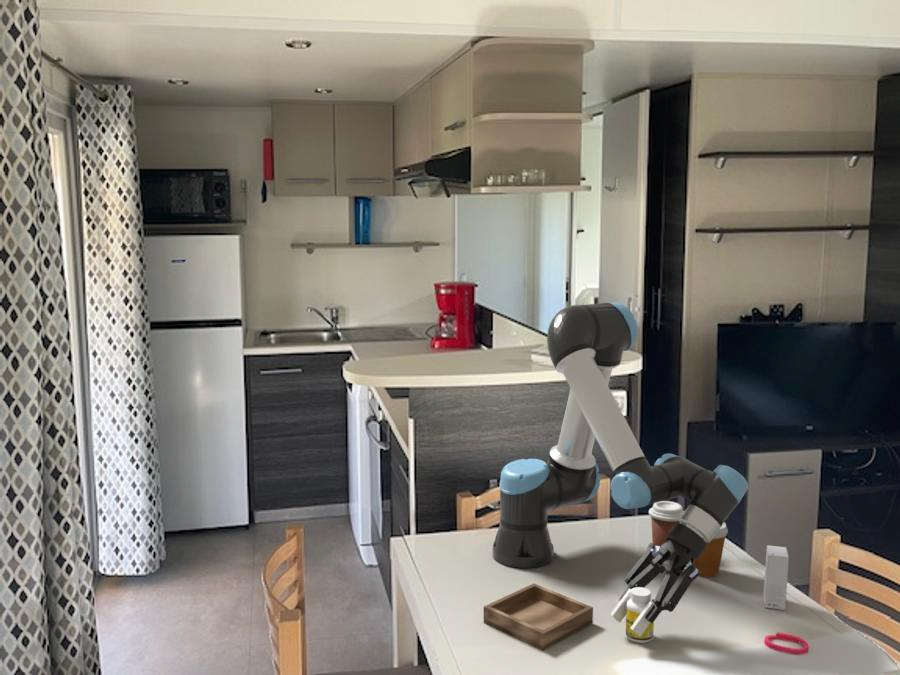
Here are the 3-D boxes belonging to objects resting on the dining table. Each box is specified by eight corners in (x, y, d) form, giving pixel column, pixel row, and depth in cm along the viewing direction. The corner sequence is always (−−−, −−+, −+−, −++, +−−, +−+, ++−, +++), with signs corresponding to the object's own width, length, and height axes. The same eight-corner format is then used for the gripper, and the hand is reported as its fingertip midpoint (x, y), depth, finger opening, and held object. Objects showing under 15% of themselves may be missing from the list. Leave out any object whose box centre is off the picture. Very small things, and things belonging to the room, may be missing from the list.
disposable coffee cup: (727, 581, 198) (730, 532, 196) (685, 578, 200) (687, 528, 198) (723, 565, 207) (725, 517, 205) (682, 561, 209) (684, 514, 207)
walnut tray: (483, 622, 178) (483, 606, 178) (533, 598, 190) (533, 583, 189) (543, 650, 167) (543, 633, 167) (592, 623, 178) (593, 607, 178)
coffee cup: (647, 556, 212) (649, 510, 210) (647, 542, 221) (648, 498, 219) (685, 560, 210) (687, 513, 208) (683, 546, 219) (685, 500, 217)
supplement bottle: (622, 631, 175) (623, 585, 173) (648, 630, 175) (649, 584, 174) (629, 644, 170) (631, 597, 168) (656, 643, 170) (658, 596, 169)
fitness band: (809, 645, 170) (809, 637, 170) (807, 658, 165) (807, 651, 165) (765, 636, 174) (766, 629, 173) (762, 649, 168) (763, 642, 168)
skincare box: (785, 610, 184) (789, 557, 182) (764, 608, 185) (767, 555, 183) (783, 598, 190) (786, 546, 188) (763, 596, 191) (766, 544, 189)
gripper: (735, 559, 168) (666, 656, 164) (671, 528, 185) (607, 615, 180) (716, 538, 165) (645, 636, 161) (652, 508, 182) (586, 596, 177)
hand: (625, 625), depth 170 cm, fingers open, 6 cm apart
